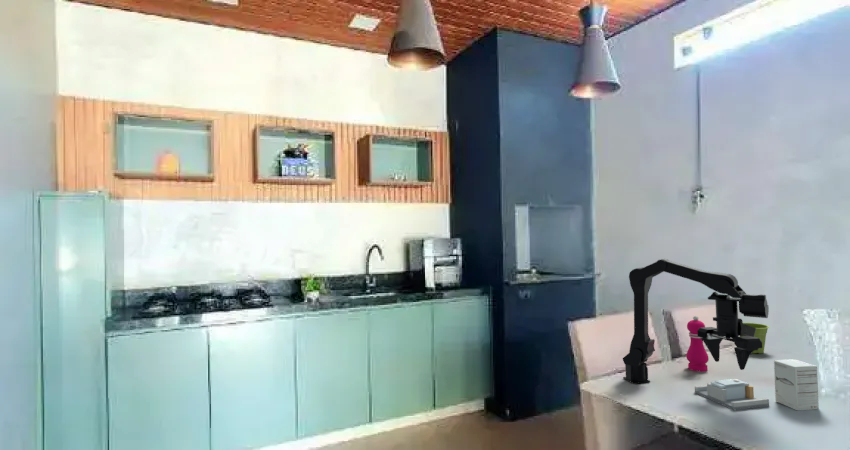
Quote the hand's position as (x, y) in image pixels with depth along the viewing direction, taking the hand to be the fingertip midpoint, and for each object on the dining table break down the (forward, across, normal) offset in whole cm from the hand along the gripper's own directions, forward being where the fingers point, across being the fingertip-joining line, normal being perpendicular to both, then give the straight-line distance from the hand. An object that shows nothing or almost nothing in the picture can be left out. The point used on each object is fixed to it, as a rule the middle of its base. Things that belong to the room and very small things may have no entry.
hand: (729, 365), depth 141 cm
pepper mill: (+11, +29, -14) cm, 34 cm away
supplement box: (+11, -9, -14) cm, 20 cm away
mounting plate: (+10, 0, 0) cm, 10 cm away
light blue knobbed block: (+10, 0, 0) cm, 10 cm away
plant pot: (+11, +44, -54) cm, 70 cm away
